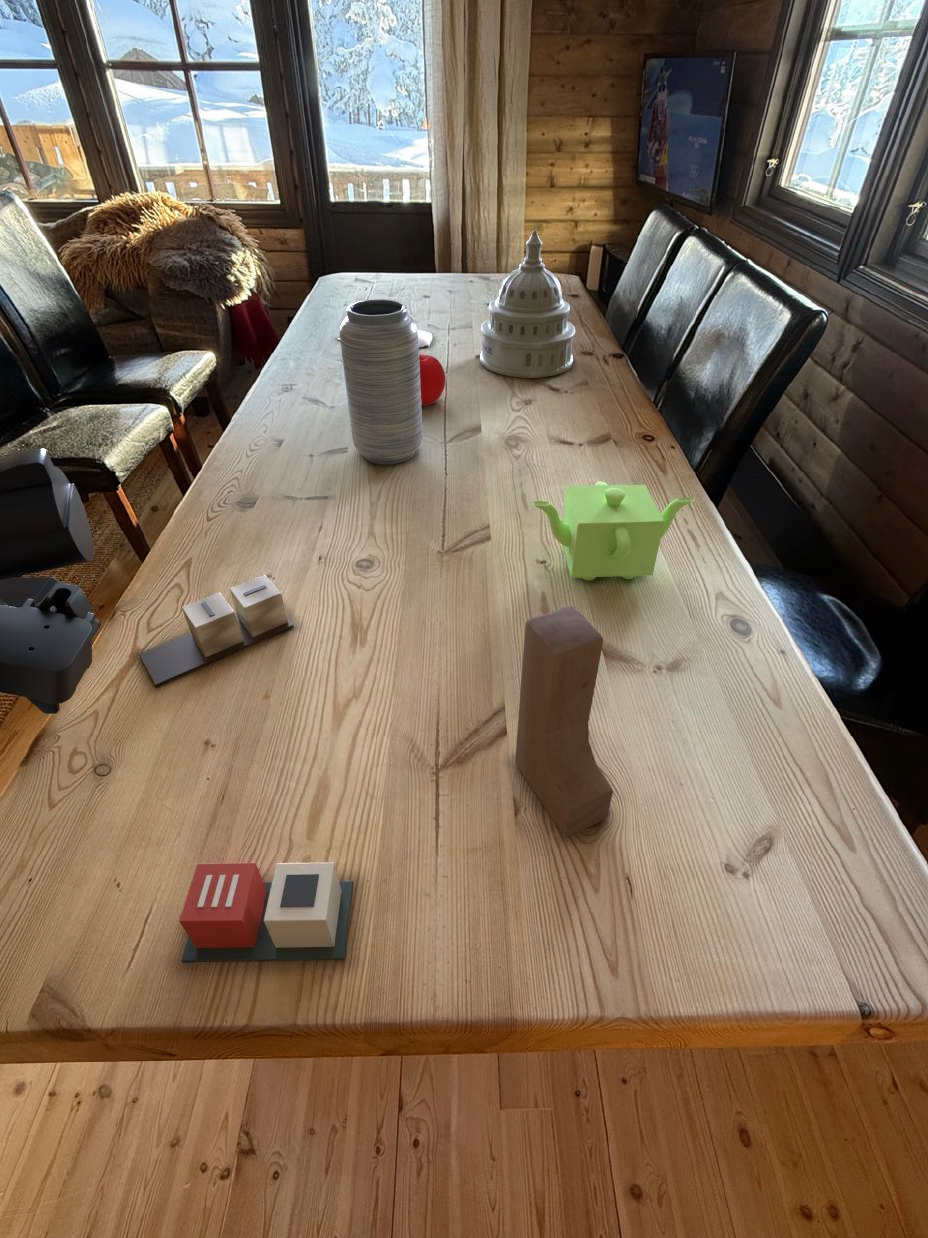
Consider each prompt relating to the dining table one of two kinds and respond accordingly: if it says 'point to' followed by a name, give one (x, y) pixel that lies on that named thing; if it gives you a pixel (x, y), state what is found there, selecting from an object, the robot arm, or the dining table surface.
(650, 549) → the teapot
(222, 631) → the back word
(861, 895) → the dining table surface
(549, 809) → the wooden block
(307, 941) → the white cube on base
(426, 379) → the fruit
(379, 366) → the vase
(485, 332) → the dome
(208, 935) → the white-striped red block
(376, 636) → the dining table surface
